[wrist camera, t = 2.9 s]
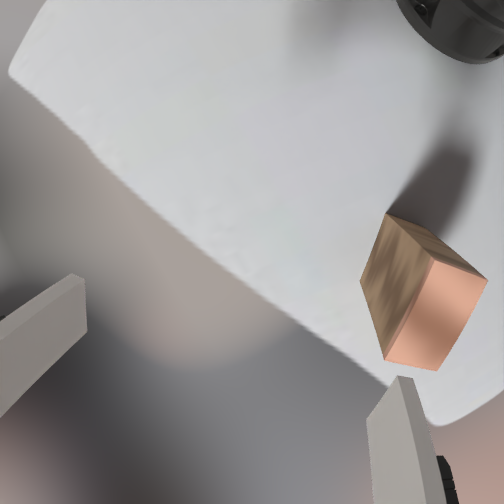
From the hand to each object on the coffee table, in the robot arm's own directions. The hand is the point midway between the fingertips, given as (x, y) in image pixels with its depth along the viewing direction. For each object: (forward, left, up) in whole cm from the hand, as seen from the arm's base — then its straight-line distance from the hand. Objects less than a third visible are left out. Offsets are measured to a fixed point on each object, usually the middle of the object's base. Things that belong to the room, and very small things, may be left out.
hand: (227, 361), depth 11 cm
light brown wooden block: (0, +13, -23) cm, 26 cm away
